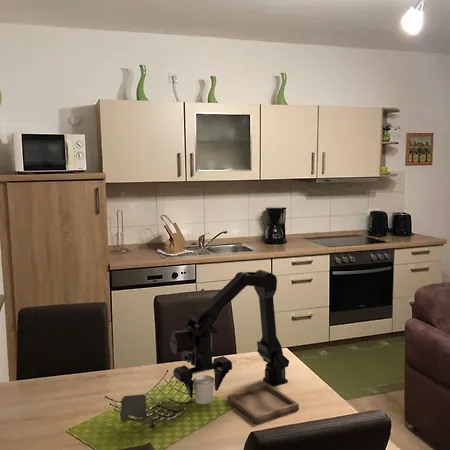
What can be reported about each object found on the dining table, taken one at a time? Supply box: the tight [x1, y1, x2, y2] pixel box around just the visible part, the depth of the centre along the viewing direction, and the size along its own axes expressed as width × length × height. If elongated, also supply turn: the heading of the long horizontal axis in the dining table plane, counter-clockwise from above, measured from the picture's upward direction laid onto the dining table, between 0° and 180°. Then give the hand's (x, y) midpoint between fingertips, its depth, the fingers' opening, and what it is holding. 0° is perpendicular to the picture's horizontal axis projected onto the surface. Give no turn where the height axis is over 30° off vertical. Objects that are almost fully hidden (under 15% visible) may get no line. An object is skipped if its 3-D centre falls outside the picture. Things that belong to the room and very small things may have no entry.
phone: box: [121, 394, 147, 422], centre depth 149 cm, size 7×1×15 cm
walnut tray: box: [227, 383, 300, 425], centre depth 150 cm, size 16×16×2 cm
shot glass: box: [192, 374, 215, 405], centre depth 154 cm, size 7×7×7 cm
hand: (203, 394), depth 154 cm, fingers open, 9 cm apart
